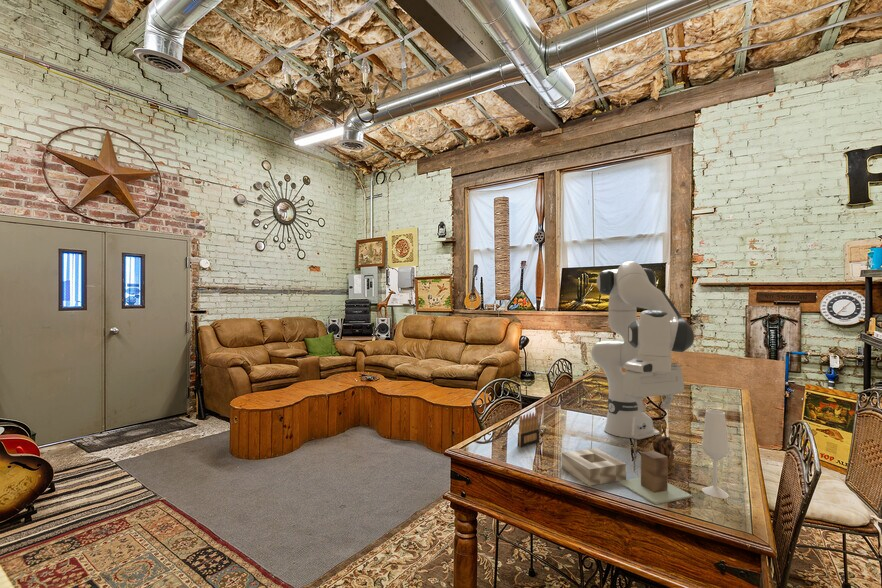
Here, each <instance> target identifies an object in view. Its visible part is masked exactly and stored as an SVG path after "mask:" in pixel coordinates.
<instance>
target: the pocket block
mask: <svg viewBox="0 0 882 588" xmlns="http://www.w3.org/2000/svg"><path fill="white" fill-rule="evenodd" d="M561 469H563V470H565V471H566V472H568V473H569V474H571V475H573V476H574V477H575V478H577V479H579V480H580V481H581V482H583V483H585V485H588V487H591V486H594V485H595V486H596V485H601V484H602V485H603V484H607V483H613V482H618V481H622V480H627V463H625V462H624V461H621V460H620V459H617V458H616V457H613V456H612V455H609V454H608V453H606V452H604V451H602V450H600V449H599V448H597V447H595V448H587V449H579V450H573V451H566V452H561Z"/></svg>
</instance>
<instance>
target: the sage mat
mask: <svg viewBox="0 0 882 588" xmlns="http://www.w3.org/2000/svg"><path fill="white" fill-rule="evenodd" d="M617 483H618V484H619V485H621V486H622V487H625V488H627V489H628V490H629V491H631V492H633V493H634V494H637V495H638V496H640V497H642V498H643V499H645V501H648V502H650V503H652V504H653V505H658V504H659V505H660V504H663V503H670V502H674V501H681V500H685V499H690V498H693V494H691V493H689V492H687V491H685V490H683V489H681V488H679V487H677V486H675V485H673V484H671V483H669V482H667V491H662V492H657V493H654V492H652V491H650V490H648V489H646V488H645V487H643V486H641V476H640V477H634V478H628V479H626V480H621V481H617Z"/></svg>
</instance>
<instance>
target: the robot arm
mask: <svg viewBox="0 0 882 588" xmlns="http://www.w3.org/2000/svg"><path fill="white" fill-rule="evenodd" d="M656 285H657V278H656V275H655V272H654V270H653V269H651V268H646V267H642V265H641V264H639V263H638V262H637V261H632V260H631V261H629V260H628V261H625V262H623V263H621V264H620V265H619V266H618V268H615V269H605V270H602V271H600V272H599V273H598V276H597V279H596V287H597V289H598V293H600V294H601V295H605V296H608V307H607V308H608V327H609V328H610V330H611V331H612V332H614V333H615V334H617V335H619V336H621V337H622V339H623V341H617V340H615V341H614V340H602V341H596V342H595V343H594V344H593V345H592V346H591V347H592V348H591V350H590V351H591V352H590V353H591V354H590V356H591V358H592V360H593V361H594V362H595V364H597V365H598V366H599V367H600V368H601V369H602V371H603V372H604V374H605V376H606V379H607V385H608V398H607V409H608V410H607V416H606V423H605V427H604V431H605V432H606V434H609V435H611V436H612V435H613V436H616V437H621V438H628V439H634V440H643V439H646V438H650V437H654V435H655V436H657V435H658V436H659V435H660V431H659V430H658V429H656V428H654V422H653V419H652V418H651V417H650V416H649V415H648V414H647V413H645V412H646V411H647V405H646V404H645V401H644V398H646V397H648V398H649V397H657V396H658V397H659V396H664V397H665V398H664V401H663V402H662V403H661V407H662V409H663V410H670V409H671V404H672V402H673V400H674V397H675V395H677V394H678V395H680V394H683V392H684V390H685V383H684V377H683V375H684V374H683V372H682V367H681V366H680V365H679V363H677V362H672V352H676V353H684V352H685V351H687V350H688V349H690V348H691V347H692V346H693V344H694V342H695V341H694V340H695V334H694V330H693V328H692V326H691V325H690V324H689V323H688V322H687V321H686V320H685V319H684V318H683V316H682V315H681V313H680V312H679V311H678V309H677V307H676V306H675V305H674V303H673V302H672V299H670V297H669V296H668V295H667V293H666V292H665V291H663V290H661V289H659V288H657V287H656ZM638 308H639V309H646V310H643V311H641V312H640V313H639V318H638V314H637V309H638ZM622 368H624V369H625V370H626V371H625V372H623V370H622Z"/></svg>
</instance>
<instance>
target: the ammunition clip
mask: <svg viewBox="0 0 882 588" xmlns="http://www.w3.org/2000/svg"><path fill="white" fill-rule="evenodd" d="M531 413H532V414H531ZM538 416H539V415H538V412H537V411H535V413H534V411H533V412H530V413H529V414H528V413H526V415H525V414H523V416H522V415H520V416H519V425H518V433H517V447H519V448H524V447H528V446H530V445H531V446H532V445H533V444H537V443H540V429H539V419H538V418H539V417H538Z"/></svg>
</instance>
